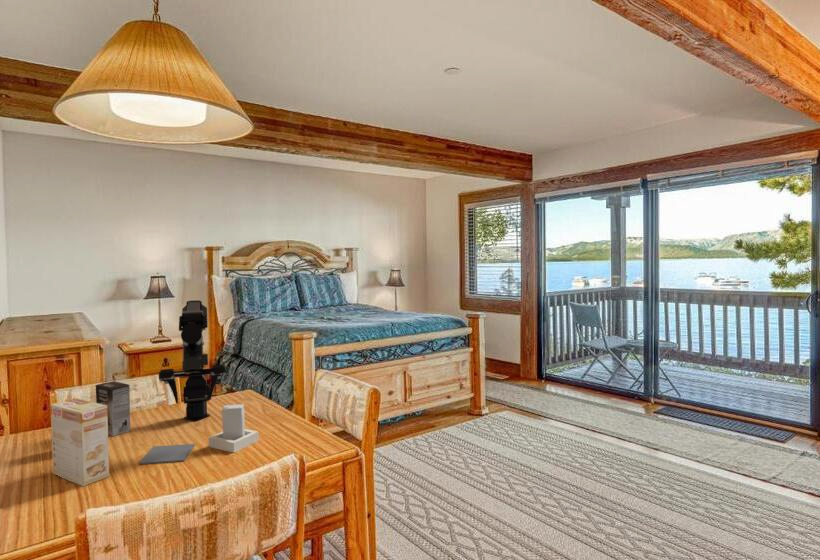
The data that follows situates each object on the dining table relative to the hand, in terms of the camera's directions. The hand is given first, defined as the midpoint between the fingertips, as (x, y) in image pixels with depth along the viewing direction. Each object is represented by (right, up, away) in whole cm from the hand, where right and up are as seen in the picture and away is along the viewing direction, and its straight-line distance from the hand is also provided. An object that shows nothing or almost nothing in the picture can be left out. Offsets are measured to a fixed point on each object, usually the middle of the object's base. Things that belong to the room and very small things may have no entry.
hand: (193, 401), depth 148 cm
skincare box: (+11, -15, +5) cm, 19 cm away
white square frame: (+11, -15, +5) cm, 19 cm away
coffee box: (-34, -14, +16) cm, 40 cm away
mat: (-6, -15, -3) cm, 17 cm away
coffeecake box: (-23, -16, -17) cm, 33 cm away
